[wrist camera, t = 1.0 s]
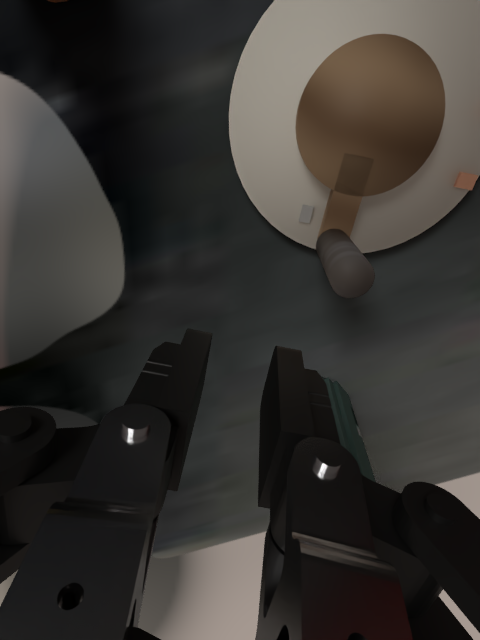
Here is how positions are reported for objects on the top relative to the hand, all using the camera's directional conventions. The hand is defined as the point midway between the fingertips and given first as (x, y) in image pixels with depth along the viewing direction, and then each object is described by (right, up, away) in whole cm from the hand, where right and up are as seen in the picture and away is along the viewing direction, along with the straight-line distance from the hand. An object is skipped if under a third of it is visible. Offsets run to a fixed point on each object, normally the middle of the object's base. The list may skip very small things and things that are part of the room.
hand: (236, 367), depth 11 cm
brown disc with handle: (+8, +12, +15) cm, 21 cm away
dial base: (+8, +15, +16) cm, 23 cm away
